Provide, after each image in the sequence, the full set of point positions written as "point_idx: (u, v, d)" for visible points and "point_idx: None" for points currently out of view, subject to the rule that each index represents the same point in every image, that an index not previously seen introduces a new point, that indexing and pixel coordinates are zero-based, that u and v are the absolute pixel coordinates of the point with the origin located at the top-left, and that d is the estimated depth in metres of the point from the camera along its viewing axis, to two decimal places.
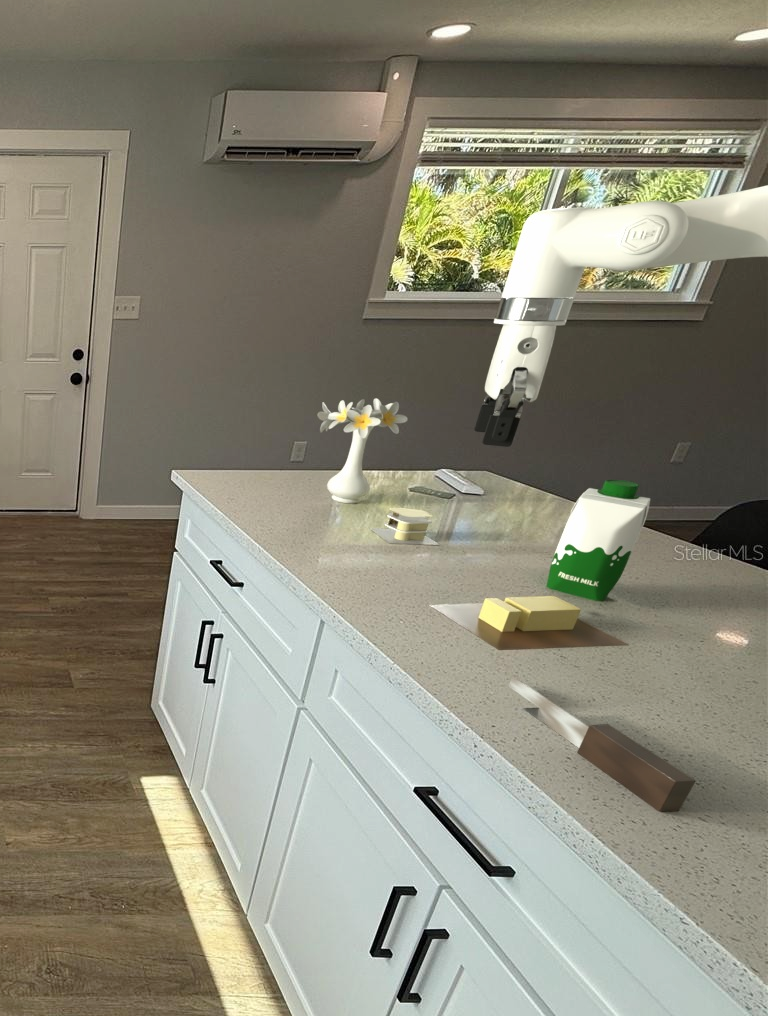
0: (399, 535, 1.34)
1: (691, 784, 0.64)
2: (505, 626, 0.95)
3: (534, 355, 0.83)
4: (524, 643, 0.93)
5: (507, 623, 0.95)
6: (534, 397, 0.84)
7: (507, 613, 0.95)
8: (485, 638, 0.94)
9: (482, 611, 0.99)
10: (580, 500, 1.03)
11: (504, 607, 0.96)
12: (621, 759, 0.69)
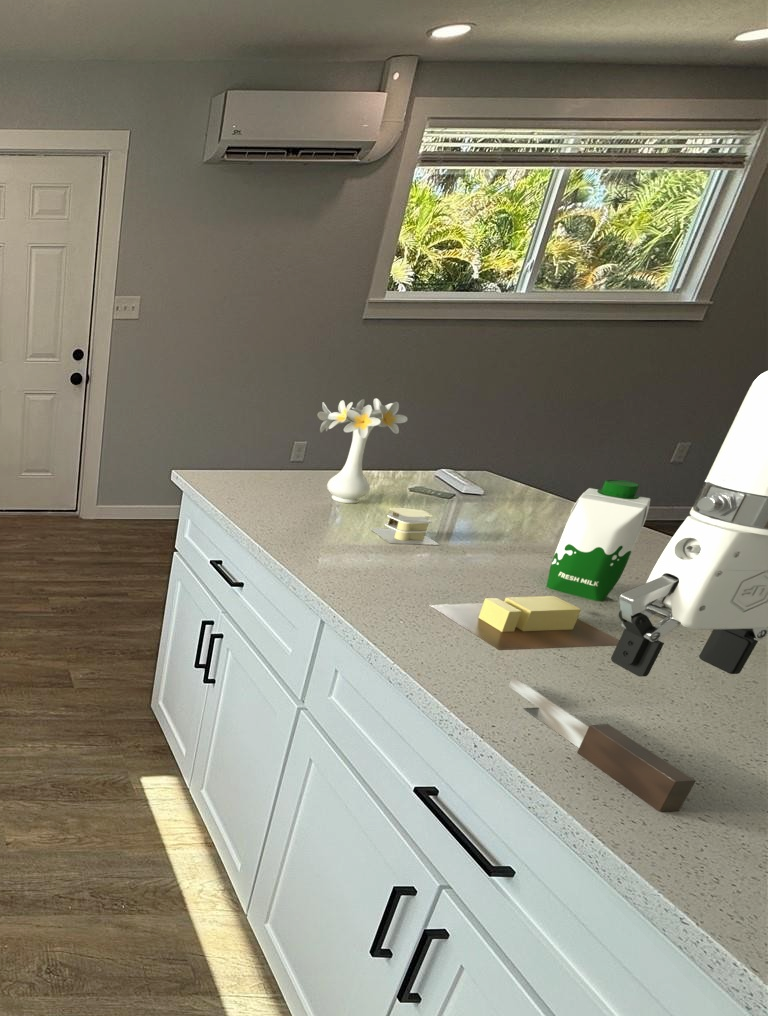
0: (399, 535, 1.34)
1: (691, 784, 0.64)
2: (505, 626, 0.95)
3: (690, 564, 0.58)
4: (524, 643, 0.93)
5: (507, 623, 0.95)
6: (684, 622, 0.59)
7: (507, 613, 0.95)
8: (485, 638, 0.94)
9: (482, 611, 0.99)
10: (580, 500, 1.03)
11: (504, 607, 0.96)
12: (621, 759, 0.69)
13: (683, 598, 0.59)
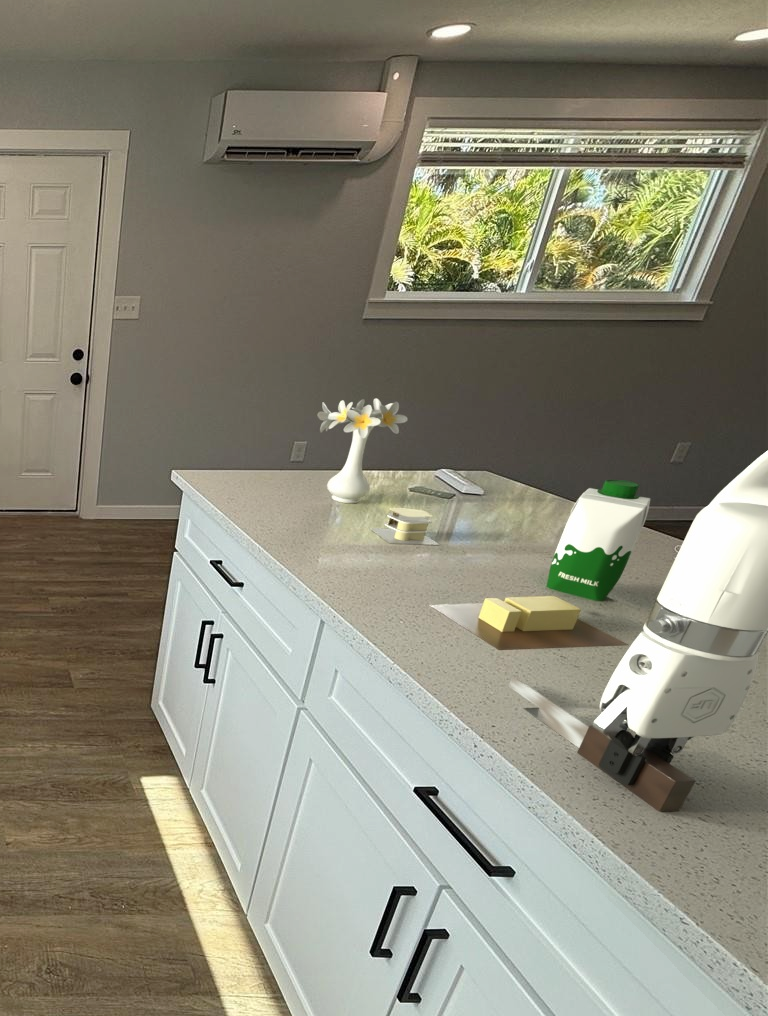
0: (399, 535, 1.34)
1: (691, 783, 0.64)
2: (505, 626, 0.95)
3: (643, 679, 0.63)
4: (524, 643, 0.93)
5: (507, 623, 0.95)
6: (638, 732, 0.64)
7: (507, 613, 0.95)
8: (485, 638, 0.94)
9: (482, 611, 0.99)
10: (580, 500, 1.03)
11: (504, 607, 0.96)
12: None
13: (637, 710, 0.63)
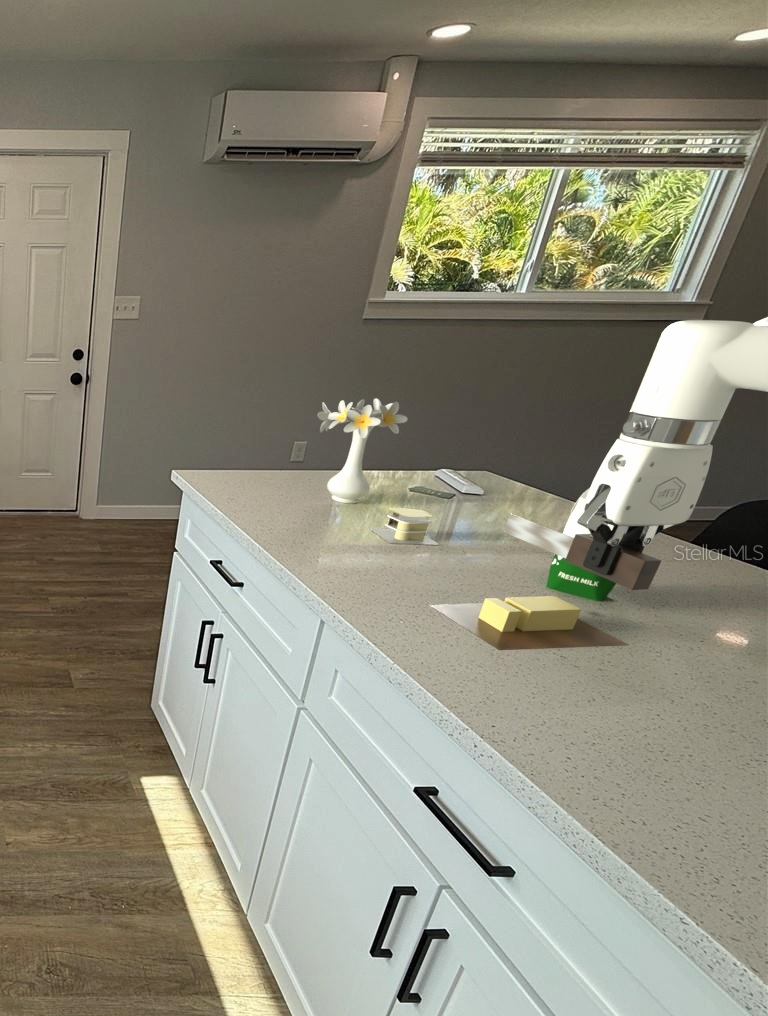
0: (399, 535, 1.34)
1: (658, 563, 0.77)
2: (505, 626, 0.95)
3: (619, 474, 0.76)
4: (524, 643, 0.93)
5: (507, 623, 0.95)
6: (615, 519, 0.77)
7: (507, 613, 0.95)
8: (485, 638, 0.94)
9: (482, 611, 0.99)
10: (580, 500, 1.03)
11: (504, 607, 0.96)
12: None
13: (614, 501, 0.77)
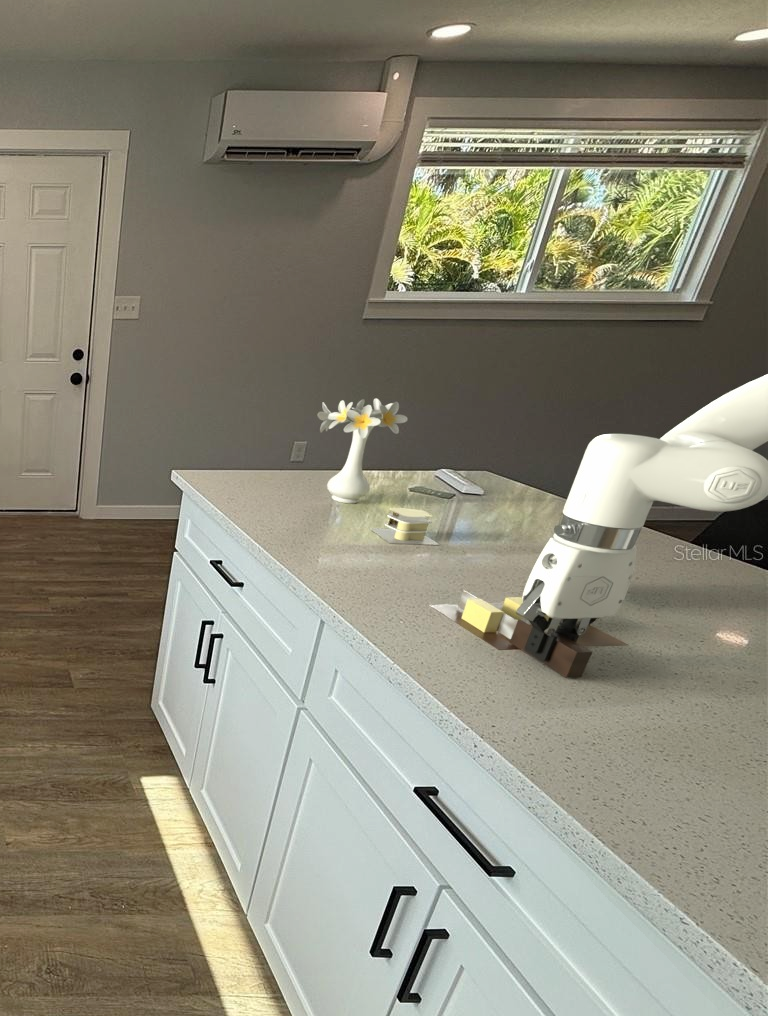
0: (399, 535, 1.34)
1: (589, 654, 0.83)
2: (487, 627, 0.95)
3: (551, 572, 0.82)
4: None
5: (489, 624, 0.95)
6: (548, 613, 0.83)
7: (489, 614, 0.94)
8: (485, 638, 0.94)
9: (465, 612, 0.99)
10: None
11: (486, 607, 0.96)
12: None
13: (547, 597, 0.82)
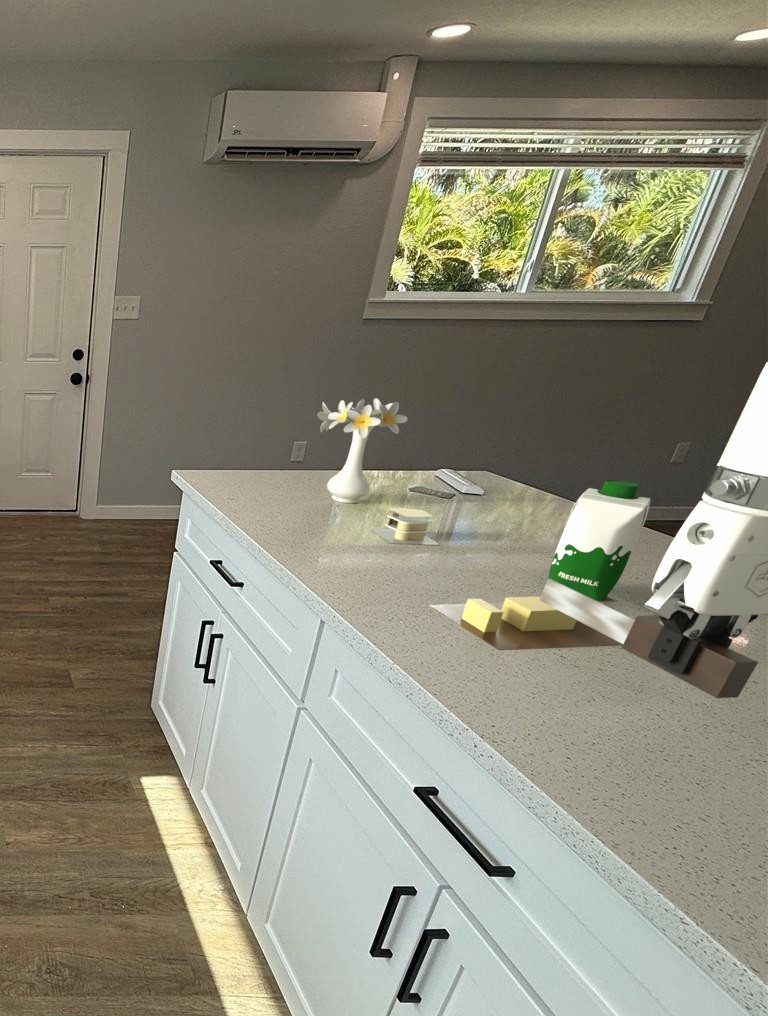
0: (399, 535, 1.34)
1: (753, 665, 0.59)
2: (487, 627, 0.95)
3: (703, 549, 0.58)
4: (524, 643, 0.93)
5: (489, 624, 0.95)
6: (697, 608, 0.58)
7: (489, 614, 0.94)
8: (485, 638, 0.94)
9: (465, 612, 0.99)
10: (580, 500, 1.03)
11: (486, 607, 0.96)
12: None
13: (696, 584, 0.58)
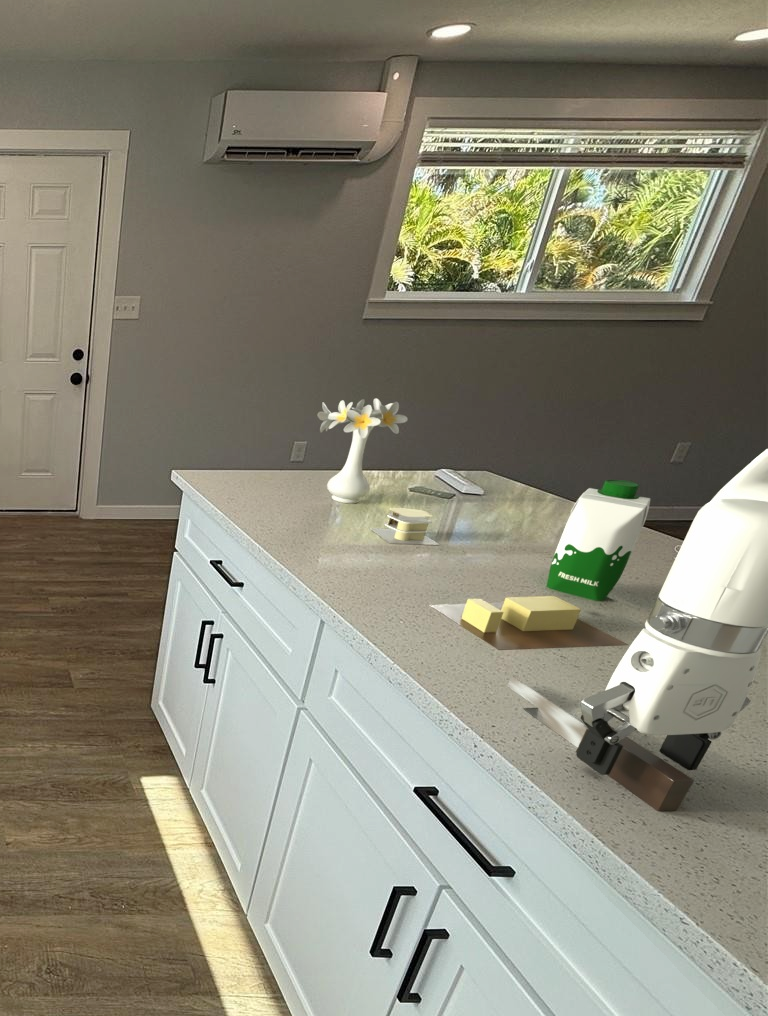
0: (399, 535, 1.34)
1: (690, 783, 0.64)
2: (487, 627, 0.95)
3: (645, 676, 0.63)
4: (524, 643, 0.93)
5: (489, 624, 0.95)
6: (640, 729, 0.63)
7: (489, 614, 0.94)
8: (485, 638, 0.94)
9: (465, 612, 0.99)
10: (580, 500, 1.03)
11: (486, 607, 0.96)
12: (620, 759, 0.69)
13: (639, 707, 0.63)
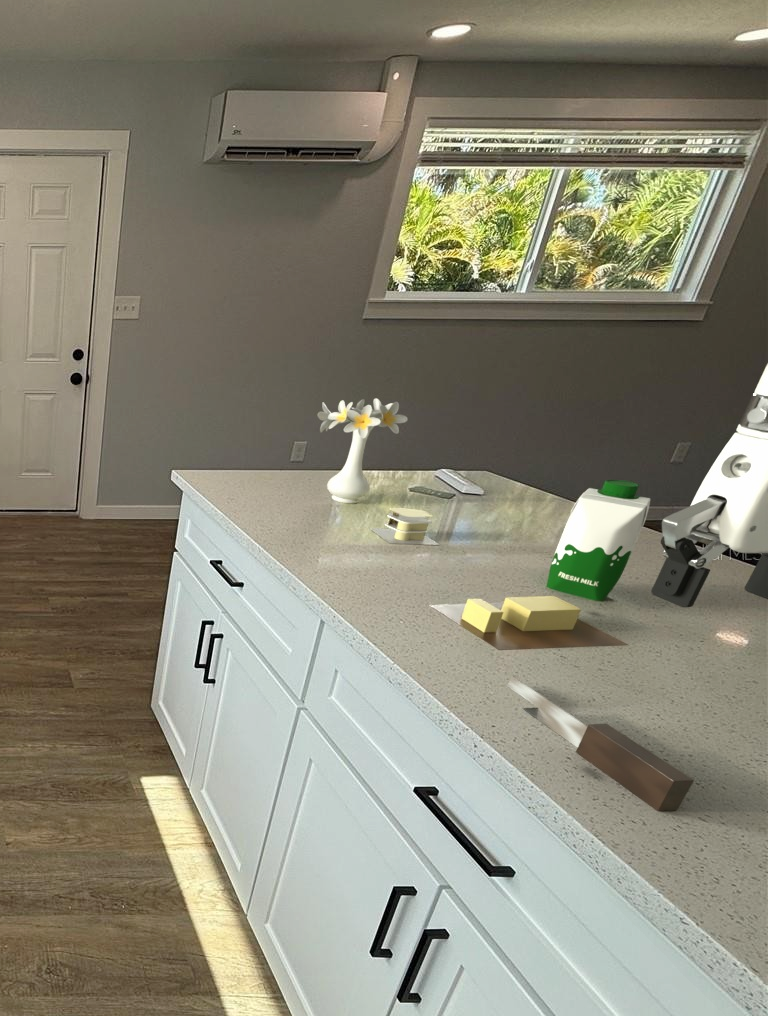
0: (399, 535, 1.34)
1: (690, 783, 0.64)
2: (487, 627, 0.95)
3: (740, 481, 0.55)
4: (524, 643, 0.93)
5: (489, 624, 0.95)
6: (733, 544, 0.56)
7: (489, 614, 0.94)
8: (485, 638, 0.94)
9: (465, 612, 0.99)
10: (580, 500, 1.03)
11: (486, 607, 0.96)
12: (620, 759, 0.69)
13: (732, 519, 0.55)
